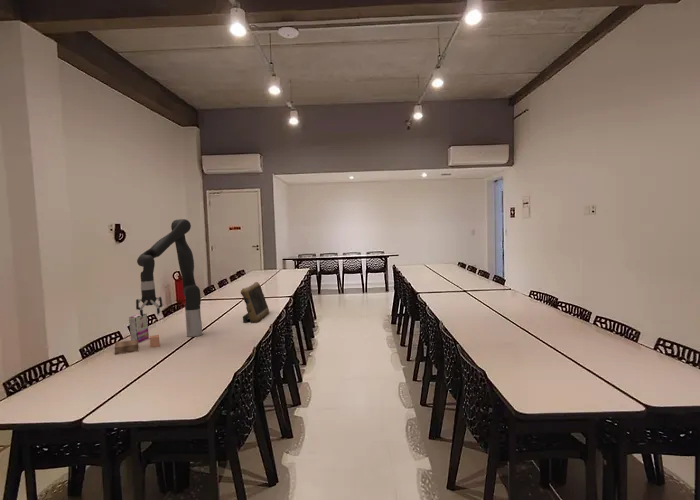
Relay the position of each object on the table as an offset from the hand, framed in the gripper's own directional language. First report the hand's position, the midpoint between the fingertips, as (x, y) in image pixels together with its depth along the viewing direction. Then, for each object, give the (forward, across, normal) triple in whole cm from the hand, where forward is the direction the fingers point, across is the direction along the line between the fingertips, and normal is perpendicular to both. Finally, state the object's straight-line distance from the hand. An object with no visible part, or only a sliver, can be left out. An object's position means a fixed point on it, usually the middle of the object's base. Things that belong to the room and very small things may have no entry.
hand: (150, 315), depth 267 cm
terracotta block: (+19, -1, +1) cm, 19 cm away
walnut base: (+18, +14, +2) cm, 23 cm away
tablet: (+20, -69, -44) cm, 84 cm away
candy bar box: (+19, +8, -17) cm, 27 cm away
